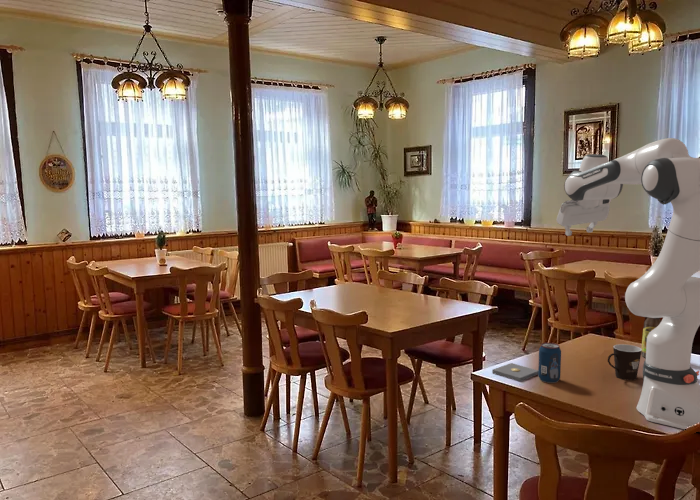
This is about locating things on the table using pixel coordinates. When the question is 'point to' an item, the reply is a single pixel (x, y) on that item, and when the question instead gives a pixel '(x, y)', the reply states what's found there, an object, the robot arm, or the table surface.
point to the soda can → (549, 362)
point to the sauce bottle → (648, 331)
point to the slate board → (515, 372)
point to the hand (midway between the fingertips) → (578, 233)
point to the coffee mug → (626, 361)
